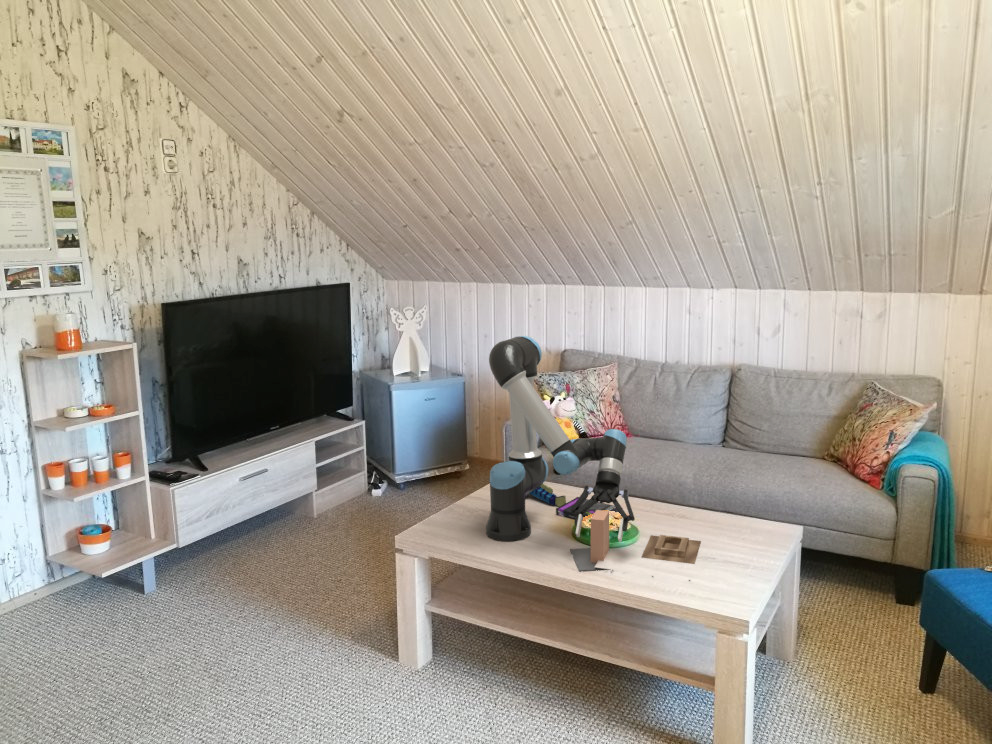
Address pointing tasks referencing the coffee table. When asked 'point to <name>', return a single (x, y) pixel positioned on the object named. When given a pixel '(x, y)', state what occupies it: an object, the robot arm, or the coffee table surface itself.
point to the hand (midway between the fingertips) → (598, 537)
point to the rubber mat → (584, 559)
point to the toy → (548, 495)
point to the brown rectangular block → (599, 535)
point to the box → (566, 508)
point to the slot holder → (672, 549)
